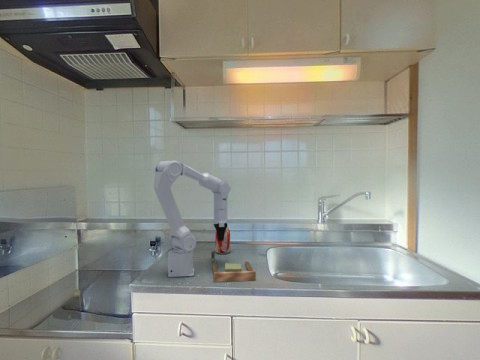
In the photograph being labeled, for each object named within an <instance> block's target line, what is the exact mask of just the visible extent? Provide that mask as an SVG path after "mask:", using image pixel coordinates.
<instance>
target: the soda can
mask: <svg viewBox="0 0 480 360" xmlns="http://www.w3.org/2000/svg"><path fill="white" fill-rule="evenodd" d="M214 234H215V236H214V237H215V241H214V242H215V245H214V247H215V253H218V254H220V255H226V254H227V255H228V253H230V252H231V231H230V229H229V227H228V226H227V228H226V231H225V235H224V240H223V241H218V238H217V232H216V231H215V233H214Z"/></svg>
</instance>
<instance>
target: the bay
mask: <svg viewBox="0 0 480 360" xmlns="http://www.w3.org/2000/svg"><path fill="white" fill-rule="evenodd" d="M244 266H245V268H246V270H242V271H236V272H225V271H218V265H217V262H215V263H212V273H213V282H214V283H221V282H222V283H224V282H246V281H247V282H249V281H256V277H257V276H256V275H257V272H256V270H254V269H253V268H252V266H251V264H250V262H249V261H245V262H244Z"/></svg>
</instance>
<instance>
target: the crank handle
mask: <svg viewBox="0 0 480 360" xmlns="http://www.w3.org/2000/svg"><path fill="white" fill-rule="evenodd" d="M215 253H216V251H214V250H213V251H211V252H210V254H211V256H210V257H211V264H213V263H216V257H215V256H216V255H215Z"/></svg>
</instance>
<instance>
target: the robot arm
mask: <svg viewBox="0 0 480 360" xmlns="http://www.w3.org/2000/svg"><path fill="white" fill-rule="evenodd" d="M153 173H154V180H153V181H154V182H153V189H154V191H155V194H156V198H158V201H159V203H160V206H161V209H162V211H163V213H164V214H163V215H164V216H165V218H166V220H167V221H166V222H167V223H168V225H169V228H170V231H169V236H170V244H171V246H172V247H173V250H169V251H168V254H167V255H168V257H167V277H168V278H176V277H178V278H179V277H193V276H194V274H195V268H194V259H193V258H194V249H195V248H196V246H197V238H196V237H195V236H194V235H193V234H192V232H191V231H190V229H189V228H188V227H187V226H186V225H185V222H184V220H183V217H182V215H181V212H180V210H179V207H178V205H177V202H176V200H175V196H174V194H173V191H172V189H171V187H172V186H173V184H174V183H175V182H176V181H177V179H178V178H179V177H180V176H184V177H187V178H190V179H193V180H194V181H197V182H198V184H199V186H200V187H203V188H205V189H207V190H210V191H211V192H212V193H213V222H214V224H213V227H214V228H215V229H214V230H215V233H216V232H217V238H218V241H223V240H224V235H225V231H226V228H227V227H228V226H229V225H228V223H227V222H230V221H231V218H228V199H229V198H228V197H229V193H230V191H231V186H230V184H229V183H228V181H226V180H221V178H220V177H216V176H214V175H212V173H211V172H203V173H201V172H199V171H198V170H196V169H194V168H192V167H190V166H189V165H187V164H185V163H183V162H180V161H179V160H160V161H159V162H157V164H155V167H154V169H153Z"/></svg>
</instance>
